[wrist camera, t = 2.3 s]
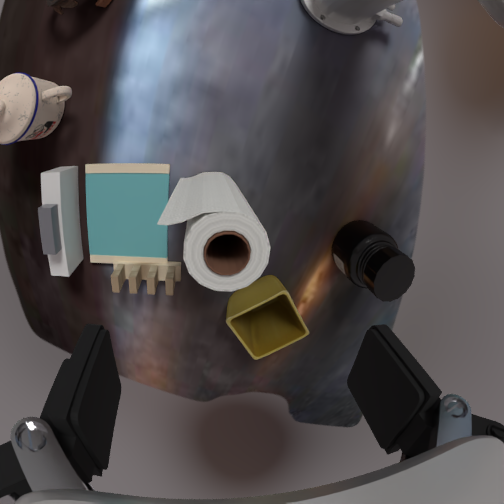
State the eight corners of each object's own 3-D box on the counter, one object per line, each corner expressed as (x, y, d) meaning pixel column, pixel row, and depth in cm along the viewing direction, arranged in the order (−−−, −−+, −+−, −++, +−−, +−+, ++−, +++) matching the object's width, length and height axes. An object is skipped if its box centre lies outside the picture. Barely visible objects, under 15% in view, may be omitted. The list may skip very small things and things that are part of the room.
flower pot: (246, 325, 49) (255, 362, 40) (220, 286, 45) (224, 320, 37) (293, 301, 48) (310, 334, 40) (271, 259, 45) (286, 289, 36)
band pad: (170, 164, 37) (169, 164, 36) (167, 263, 42) (167, 265, 42) (87, 164, 35) (85, 164, 34) (92, 260, 40) (90, 262, 39)
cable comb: (181, 261, 43) (178, 279, 38) (181, 276, 43) (178, 295, 38) (115, 259, 41) (105, 275, 36) (117, 273, 42) (107, 291, 37)
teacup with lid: (22, 147, 32) (-25, 157, 21) (17, 92, 28) (-29, 88, 17) (87, 124, 33) (48, 124, 22) (83, 65, 29) (44, 46, 19)
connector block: (78, 165, 35) (52, 174, 27) (83, 258, 40) (63, 283, 32) (60, 166, 34) (33, 175, 27) (67, 257, 39) (45, 281, 32)
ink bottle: (320, 264, 46) (353, 304, 35) (339, 212, 43) (380, 240, 33) (368, 274, 49) (405, 311, 38) (386, 227, 46) (431, 255, 35)
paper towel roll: (245, 201, 41) (285, 268, 21) (206, 222, 41) (210, 307, 21) (220, 155, 38) (238, 178, 18) (180, 177, 38) (156, 224, 18)
